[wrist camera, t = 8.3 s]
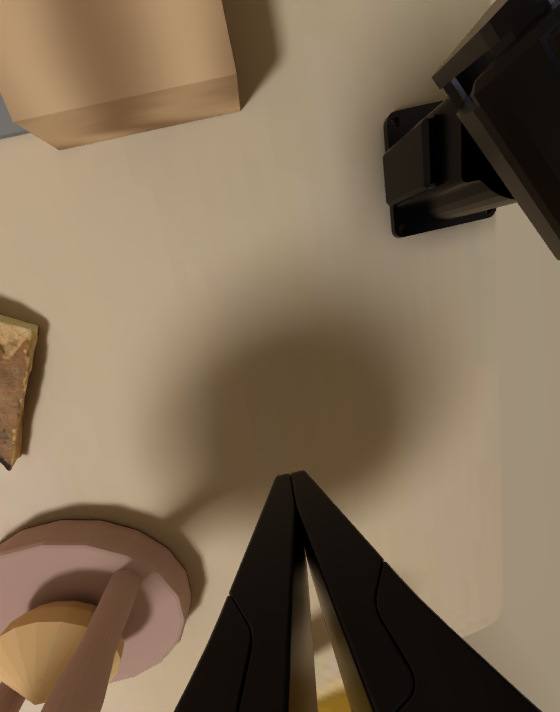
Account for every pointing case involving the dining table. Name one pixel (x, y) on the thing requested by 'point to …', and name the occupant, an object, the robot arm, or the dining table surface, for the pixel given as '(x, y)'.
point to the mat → (8, 123)
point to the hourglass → (84, 612)
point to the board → (113, 66)
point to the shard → (14, 383)
